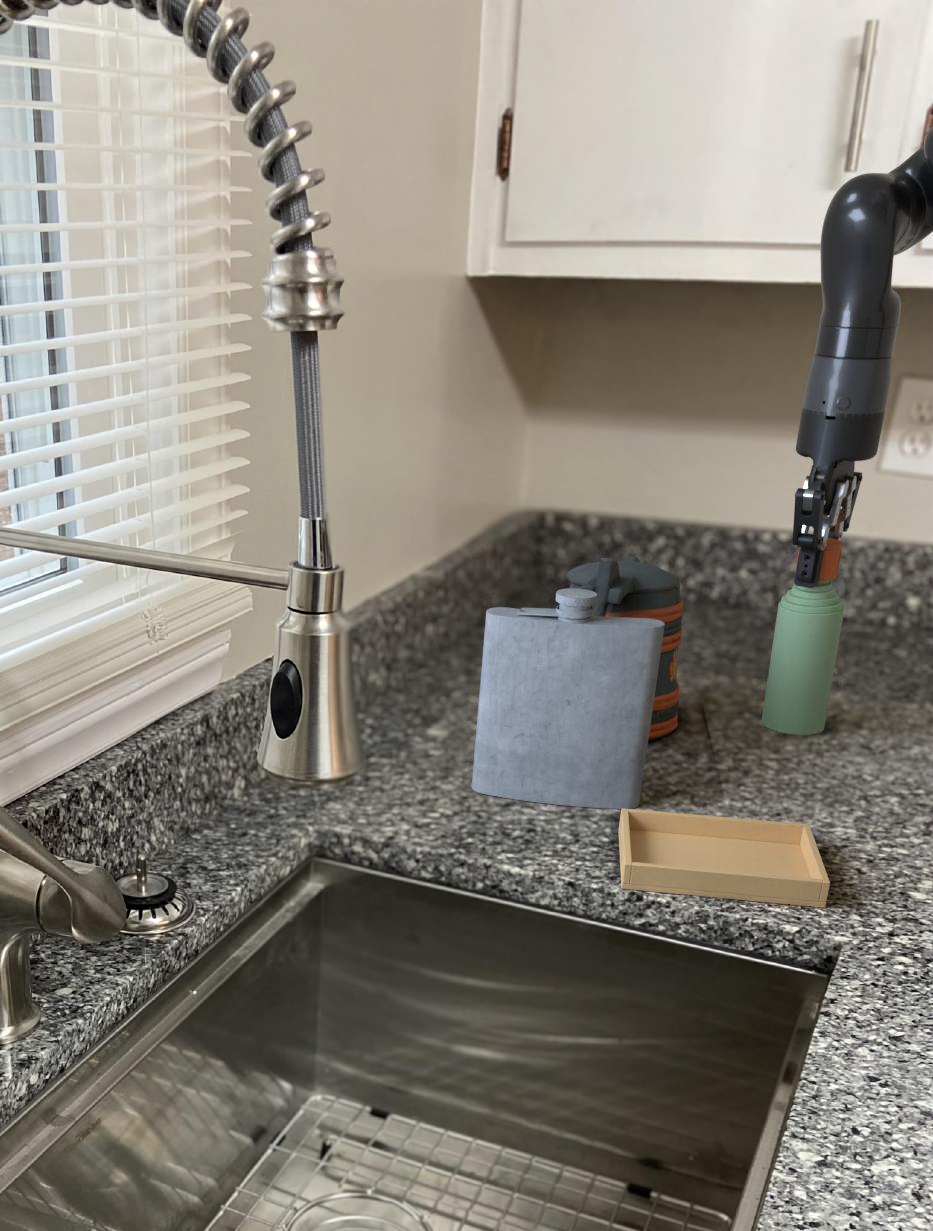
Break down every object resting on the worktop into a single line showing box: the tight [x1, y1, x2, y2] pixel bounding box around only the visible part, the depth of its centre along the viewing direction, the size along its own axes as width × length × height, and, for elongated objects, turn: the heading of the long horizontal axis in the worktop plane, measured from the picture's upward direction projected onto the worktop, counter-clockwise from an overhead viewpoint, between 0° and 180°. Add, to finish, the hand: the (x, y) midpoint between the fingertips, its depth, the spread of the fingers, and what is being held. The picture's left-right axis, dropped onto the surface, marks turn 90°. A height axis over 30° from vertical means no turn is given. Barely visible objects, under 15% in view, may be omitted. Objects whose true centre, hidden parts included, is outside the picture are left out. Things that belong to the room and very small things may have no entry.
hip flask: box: [471, 587, 665, 810], centre depth 131 cm, size 16×4×20 cm, turn 75°
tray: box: [617, 808, 831, 909], centre depth 121 cm, size 16×12×2 cm
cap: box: [794, 538, 843, 581], centre depth 143 cm, size 4×4×4 cm
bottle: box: [761, 580, 845, 736], centre depth 147 cm, size 6×6×20 cm
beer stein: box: [566, 555, 684, 742], centre depth 148 cm, size 19×15×20 cm
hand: (812, 581), depth 144 cm, fingers closed on cap, 4 cm apart
